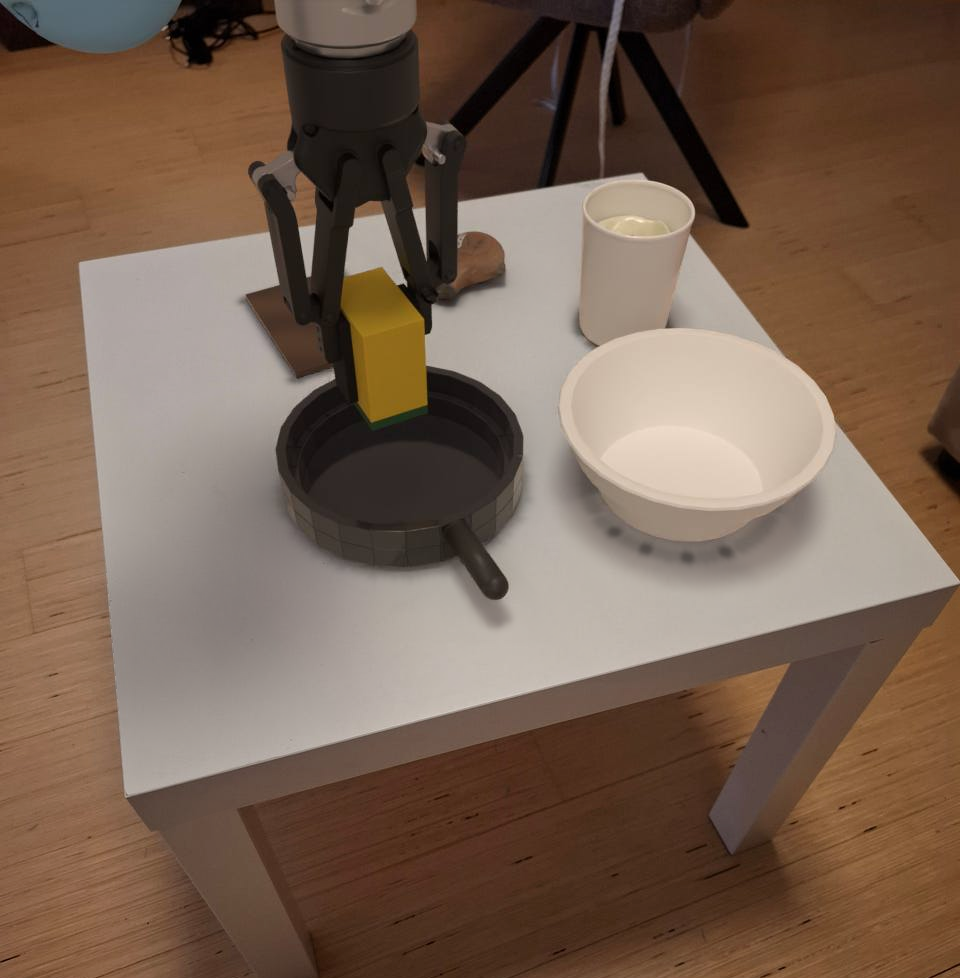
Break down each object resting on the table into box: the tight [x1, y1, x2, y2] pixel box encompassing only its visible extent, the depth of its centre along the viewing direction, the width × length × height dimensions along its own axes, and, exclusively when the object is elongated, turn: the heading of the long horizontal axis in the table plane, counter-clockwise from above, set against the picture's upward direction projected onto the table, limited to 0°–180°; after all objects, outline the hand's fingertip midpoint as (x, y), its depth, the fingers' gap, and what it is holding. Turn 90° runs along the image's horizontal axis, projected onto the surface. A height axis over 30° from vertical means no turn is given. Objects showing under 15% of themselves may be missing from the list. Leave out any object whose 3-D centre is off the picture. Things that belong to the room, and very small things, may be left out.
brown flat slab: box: [245, 275, 334, 379], centre depth 91 cm, size 14×10×1 cm
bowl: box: [557, 327, 837, 543], centre depth 75 cm, size 21×21×8 cm
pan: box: [275, 365, 524, 568], centre depth 77 cm, size 20×20×4 cm
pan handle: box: [444, 520, 510, 601], centre depth 69 cm, size 8×2×2 cm, turn 28°
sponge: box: [340, 266, 428, 431], centre depth 67 cm, size 7×4×8 cm, turn 27°
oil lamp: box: [435, 230, 507, 300], centre depth 95 cm, size 9×4×8 cm
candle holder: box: [578, 178, 696, 347], centre depth 87 cm, size 10×10×12 cm
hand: (379, 381), depth 70 cm, fingers closed on sponge, 4 cm apart
